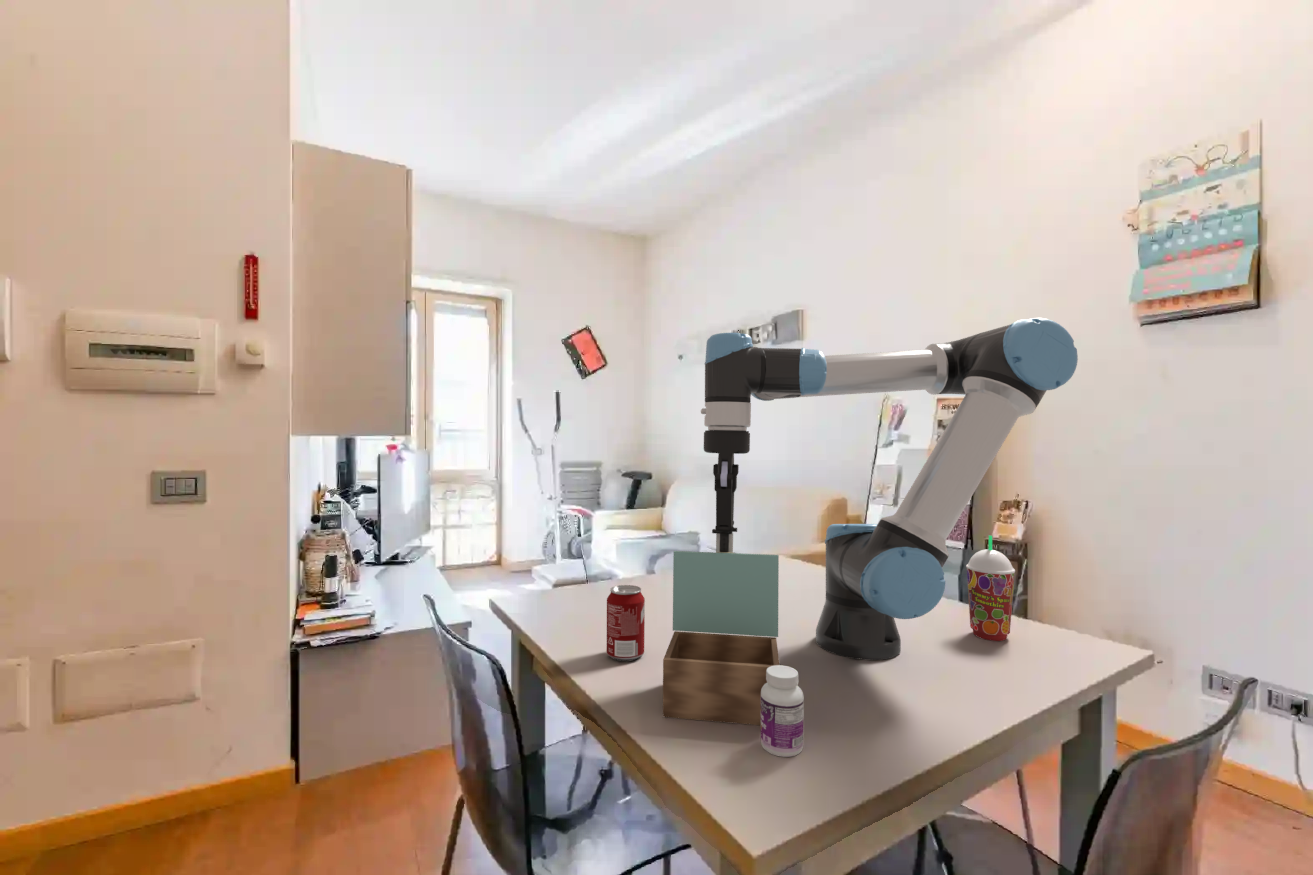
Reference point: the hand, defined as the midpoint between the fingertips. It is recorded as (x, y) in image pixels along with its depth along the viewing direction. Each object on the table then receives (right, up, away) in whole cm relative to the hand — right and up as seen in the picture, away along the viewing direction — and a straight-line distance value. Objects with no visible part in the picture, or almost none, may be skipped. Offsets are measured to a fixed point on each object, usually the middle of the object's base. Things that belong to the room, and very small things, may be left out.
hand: (724, 572), depth 94 cm
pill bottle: (+5, -17, -22) cm, 28 cm away
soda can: (-17, -17, +8) cm, 25 cm away
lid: (0, -3, -3) cm, 4 cm away
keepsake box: (-1, -17, -9) cm, 20 cm away
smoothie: (+55, -18, +20) cm, 61 cm away
